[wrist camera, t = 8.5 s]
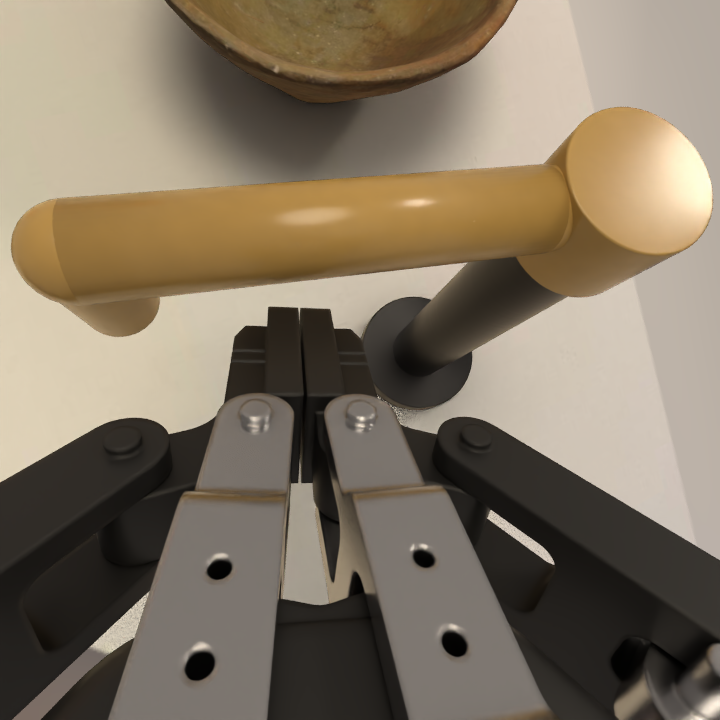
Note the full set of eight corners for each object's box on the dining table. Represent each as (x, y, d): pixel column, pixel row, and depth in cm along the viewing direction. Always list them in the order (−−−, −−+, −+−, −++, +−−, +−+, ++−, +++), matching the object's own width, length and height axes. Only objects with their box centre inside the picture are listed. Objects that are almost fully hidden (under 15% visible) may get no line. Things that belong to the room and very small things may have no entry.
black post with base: (452, 296, 32) (627, 133, 16) (476, 400, 31) (691, 333, 15) (349, 309, 30) (432, 144, 15) (370, 418, 29) (485, 366, 13)
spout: (580, 194, 17) (685, 103, 12) (612, 304, 16) (735, 246, 12) (72, 238, 13) (-22, 133, 9) (84, 379, 13) (-12, 336, 8)
